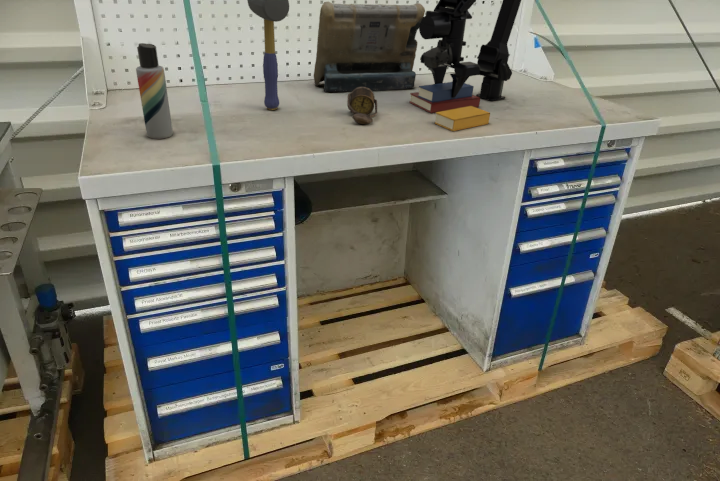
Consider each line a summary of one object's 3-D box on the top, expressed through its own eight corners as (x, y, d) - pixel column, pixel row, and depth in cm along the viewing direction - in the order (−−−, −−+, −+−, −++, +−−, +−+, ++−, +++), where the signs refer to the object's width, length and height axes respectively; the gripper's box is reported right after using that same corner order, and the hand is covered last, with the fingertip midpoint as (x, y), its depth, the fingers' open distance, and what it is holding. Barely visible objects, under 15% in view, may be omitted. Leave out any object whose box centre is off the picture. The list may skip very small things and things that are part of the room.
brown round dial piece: (390, 93, 140) (356, 80, 142) (376, 101, 129) (339, 86, 131) (382, 119, 144) (349, 106, 145) (367, 128, 133) (332, 114, 134)
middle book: (457, 91, 156) (458, 80, 155) (472, 96, 152) (473, 86, 150) (417, 96, 149) (418, 86, 147) (432, 102, 144) (433, 91, 143)
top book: (469, 116, 144) (471, 105, 143) (488, 123, 140) (490, 112, 138) (434, 123, 138) (435, 112, 136) (453, 131, 133) (454, 119, 131)
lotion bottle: (150, 130, 123) (135, 40, 113) (175, 131, 123) (163, 41, 113) (144, 139, 118) (128, 46, 108) (170, 139, 119) (156, 47, 108)
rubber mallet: (293, 114, 139) (291, -11, 123) (266, 117, 135) (261, -11, 120) (276, 101, 148) (273, -17, 133) (251, 104, 145) (244, -17, 129)
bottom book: (455, 97, 161) (457, 88, 159) (478, 107, 153) (480, 97, 151) (409, 102, 154) (410, 92, 152) (430, 113, 145) (431, 103, 144)
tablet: (401, 78, 178) (408, -3, 165) (421, 89, 167) (431, 3, 155) (310, 84, 166) (310, -3, 153) (326, 95, 155) (327, 4, 143)
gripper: (408, 32, 145) (403, 89, 153) (453, 45, 132) (445, 106, 140) (439, 30, 150) (432, 85, 158) (485, 42, 137) (476, 101, 145)
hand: (445, 94), depth 150 cm, fingers closed on middle book, 6 cm apart
